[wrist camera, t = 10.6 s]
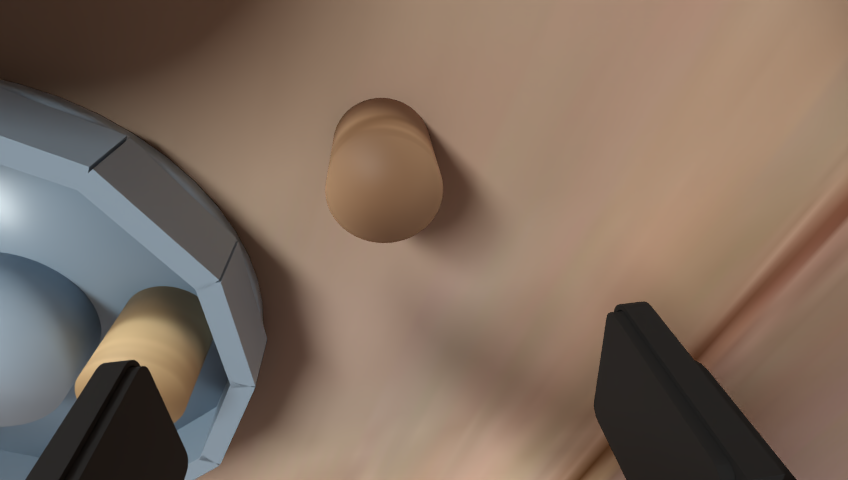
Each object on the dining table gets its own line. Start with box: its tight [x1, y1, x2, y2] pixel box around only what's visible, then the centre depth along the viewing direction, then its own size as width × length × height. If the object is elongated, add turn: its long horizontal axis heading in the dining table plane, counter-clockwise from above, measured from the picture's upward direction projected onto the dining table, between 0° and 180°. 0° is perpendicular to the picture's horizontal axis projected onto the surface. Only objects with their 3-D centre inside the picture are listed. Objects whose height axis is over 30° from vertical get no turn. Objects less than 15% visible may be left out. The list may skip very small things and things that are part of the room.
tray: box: [0, 80, 267, 480], centre depth 22 cm, size 21×21×4 cm
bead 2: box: [325, 98, 443, 243], centre depth 19 cm, size 4×4×4 cm
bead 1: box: [75, 286, 213, 423], centre depth 22 cm, size 4×4×4 cm
